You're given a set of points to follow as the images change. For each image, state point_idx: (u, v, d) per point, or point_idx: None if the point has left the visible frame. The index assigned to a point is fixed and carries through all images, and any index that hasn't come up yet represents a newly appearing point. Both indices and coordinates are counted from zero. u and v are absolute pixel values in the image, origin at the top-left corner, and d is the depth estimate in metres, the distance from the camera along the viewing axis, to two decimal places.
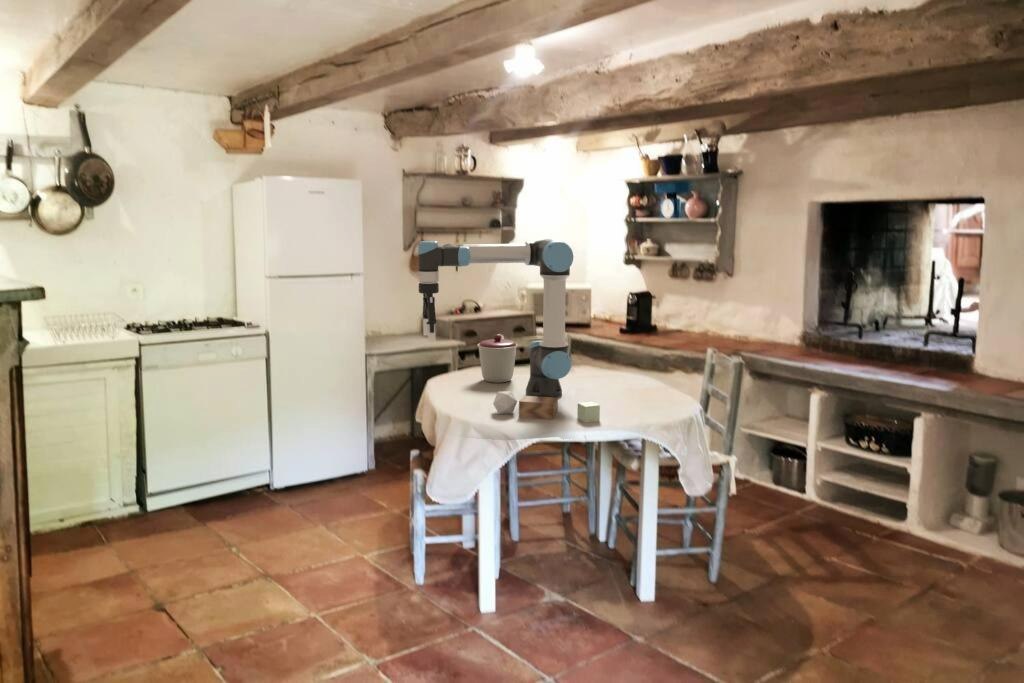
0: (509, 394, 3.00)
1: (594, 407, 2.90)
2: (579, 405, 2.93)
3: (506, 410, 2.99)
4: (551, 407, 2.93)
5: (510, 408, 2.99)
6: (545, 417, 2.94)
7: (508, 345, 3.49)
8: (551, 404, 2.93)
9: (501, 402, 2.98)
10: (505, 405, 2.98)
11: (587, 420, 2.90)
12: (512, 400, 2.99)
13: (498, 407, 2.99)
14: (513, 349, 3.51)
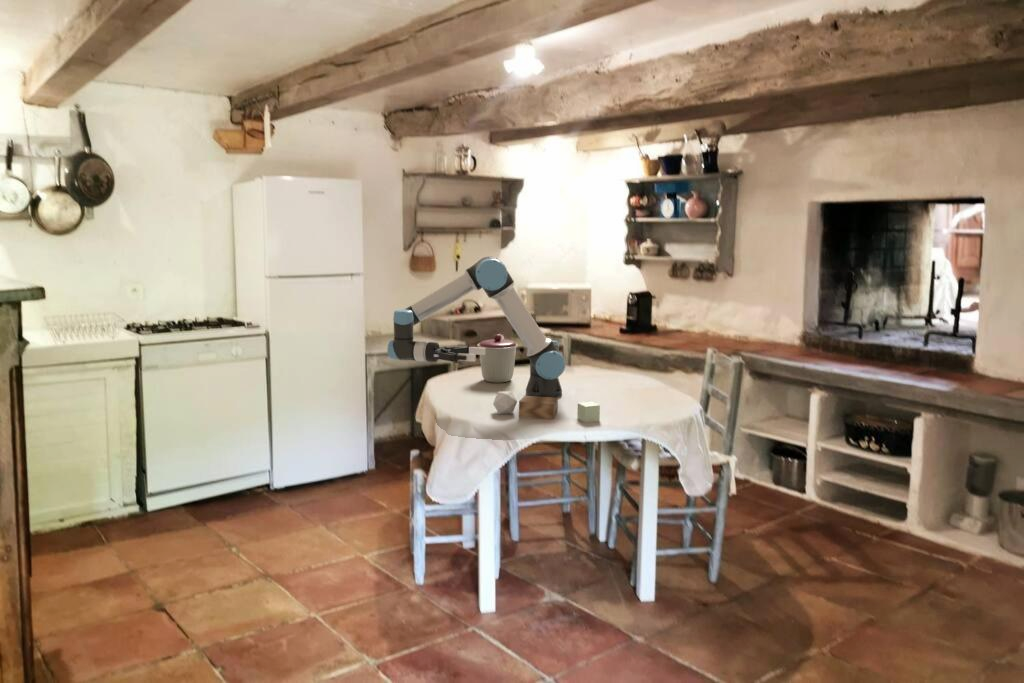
0: (509, 394, 3.00)
1: (594, 407, 2.90)
2: (579, 405, 2.93)
3: (506, 410, 2.99)
4: (551, 407, 2.93)
5: (510, 408, 2.99)
6: (545, 417, 2.94)
7: (508, 345, 3.49)
8: (551, 404, 2.93)
9: (501, 402, 2.98)
10: (505, 405, 2.98)
11: (587, 420, 2.90)
12: (512, 400, 2.99)
13: (498, 407, 2.99)
14: (513, 349, 3.51)
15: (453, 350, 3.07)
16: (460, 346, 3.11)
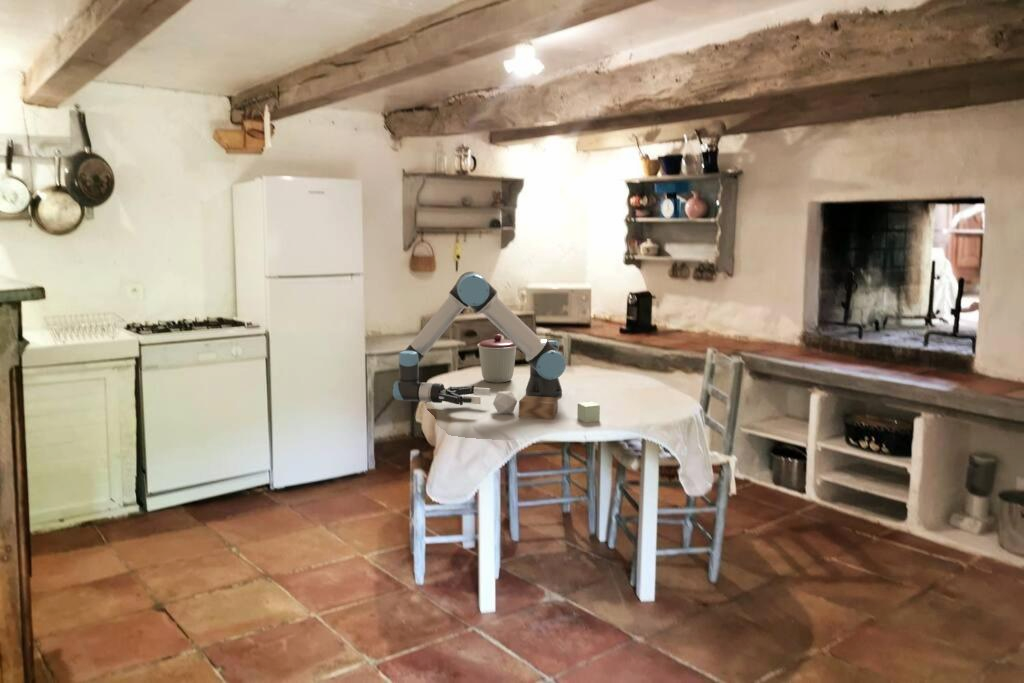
0: (509, 394, 3.00)
1: (594, 407, 2.90)
2: (579, 405, 2.93)
3: (506, 410, 2.99)
4: (551, 407, 2.93)
5: (510, 408, 2.99)
6: (545, 417, 2.94)
7: (508, 345, 3.49)
8: (551, 404, 2.93)
9: (501, 402, 2.98)
10: (505, 405, 2.98)
11: (587, 420, 2.90)
12: (512, 400, 2.99)
13: (498, 407, 2.99)
14: (513, 349, 3.51)
15: (458, 391, 3.09)
16: (465, 386, 3.13)
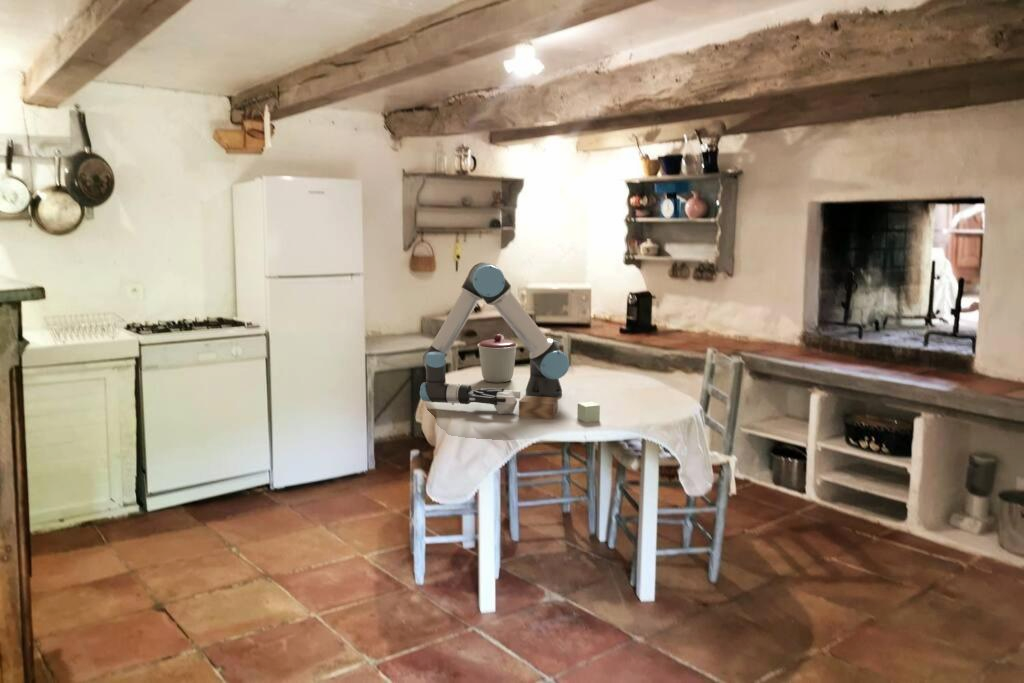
0: (509, 394, 3.00)
1: (594, 407, 2.90)
2: (579, 405, 2.93)
3: (506, 410, 2.99)
4: (551, 407, 2.93)
5: (510, 408, 2.99)
6: (545, 417, 2.94)
7: (508, 345, 3.49)
8: (551, 404, 2.93)
9: None
10: (505, 405, 2.97)
11: (587, 420, 2.90)
12: None
13: (498, 407, 2.99)
14: (513, 349, 3.51)
15: (486, 393, 3.06)
16: None
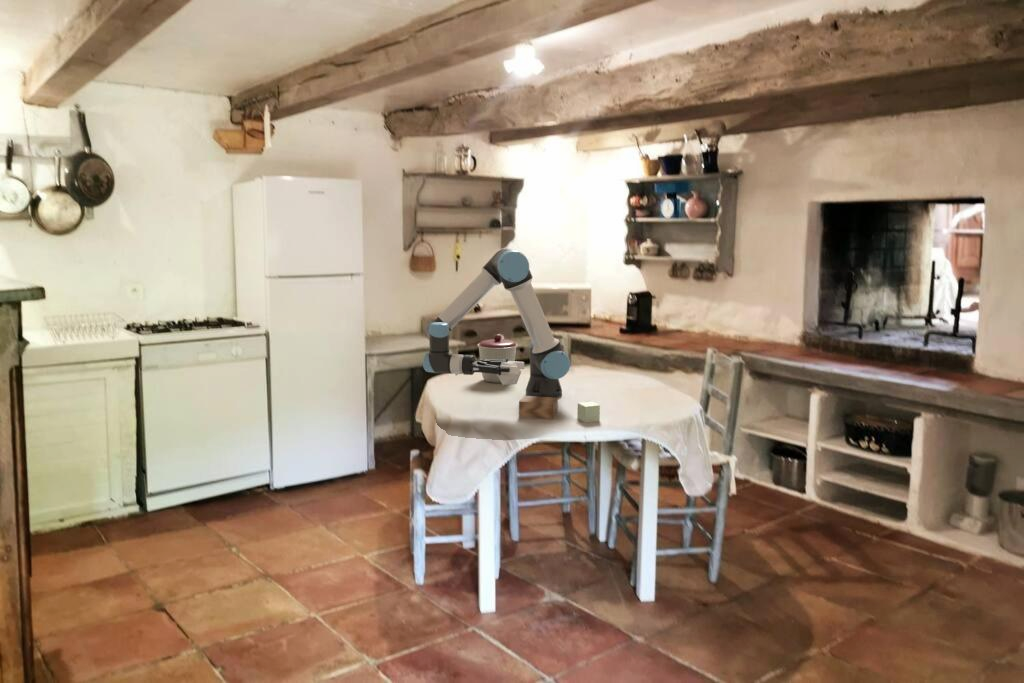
0: (513, 364, 2.97)
1: (594, 407, 2.90)
2: (579, 405, 2.93)
3: (509, 381, 2.96)
4: (551, 407, 2.93)
5: (514, 379, 2.96)
6: (545, 417, 2.94)
7: (508, 345, 3.49)
8: (551, 404, 2.93)
9: None
10: (509, 375, 2.95)
11: (587, 420, 2.90)
12: None
13: (502, 377, 2.96)
14: (513, 349, 3.51)
15: (490, 363, 3.03)
16: None
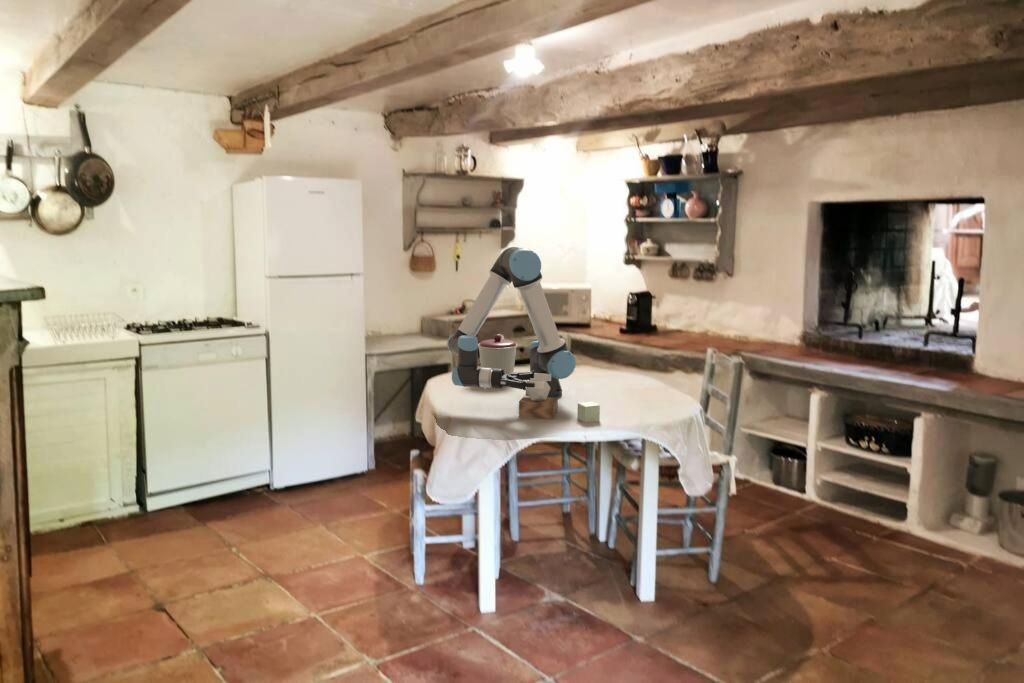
0: (542, 380, 2.96)
1: (594, 407, 2.90)
2: (579, 405, 2.93)
3: (539, 397, 2.95)
4: (551, 407, 2.93)
5: (543, 395, 2.95)
6: (545, 417, 2.94)
7: (508, 345, 3.49)
8: (551, 404, 2.93)
9: (534, 389, 2.94)
10: (538, 391, 2.93)
11: (587, 420, 2.90)
12: (546, 386, 2.95)
13: (531, 394, 2.95)
14: (513, 349, 3.51)
15: (518, 376, 3.02)
16: (525, 372, 3.07)
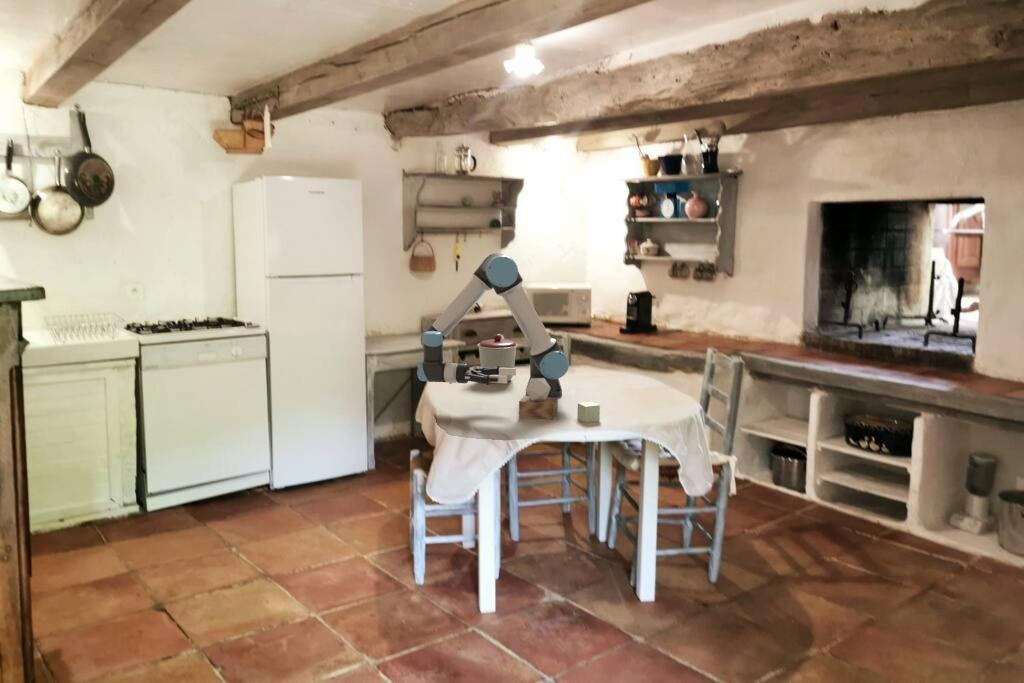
0: (542, 380, 2.96)
1: (594, 407, 2.90)
2: (579, 405, 2.93)
3: (539, 397, 2.95)
4: (551, 407, 2.93)
5: (543, 395, 2.95)
6: (545, 417, 2.94)
7: (508, 345, 3.49)
8: (551, 404, 2.93)
9: (534, 389, 2.94)
10: (538, 391, 2.93)
11: (587, 420, 2.90)
12: (546, 386, 2.95)
13: (531, 394, 2.95)
14: (513, 349, 3.51)
15: (483, 371, 3.06)
16: (490, 367, 3.10)
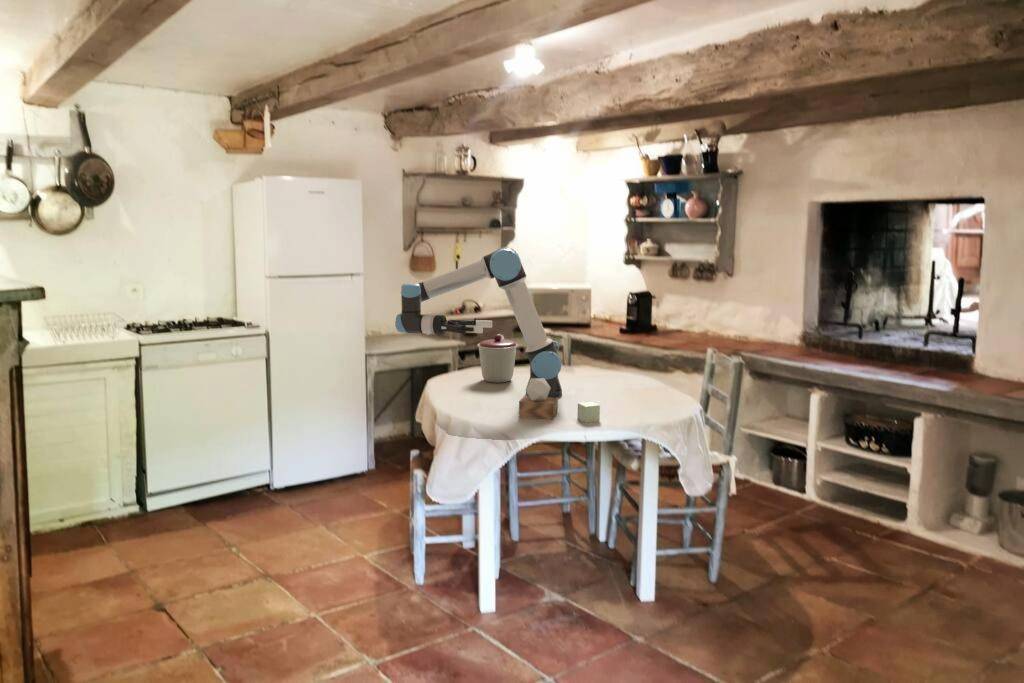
0: (542, 380, 2.96)
1: (594, 407, 2.90)
2: (579, 405, 2.93)
3: (539, 397, 2.95)
4: (551, 407, 2.93)
5: (543, 395, 2.95)
6: (545, 417, 2.94)
7: (508, 345, 3.49)
8: (551, 404, 2.93)
9: (534, 389, 2.94)
10: (538, 391, 2.93)
11: (587, 420, 2.90)
12: (546, 386, 2.95)
13: (531, 394, 2.95)
14: (513, 349, 3.51)
15: (460, 323, 3.10)
16: None
